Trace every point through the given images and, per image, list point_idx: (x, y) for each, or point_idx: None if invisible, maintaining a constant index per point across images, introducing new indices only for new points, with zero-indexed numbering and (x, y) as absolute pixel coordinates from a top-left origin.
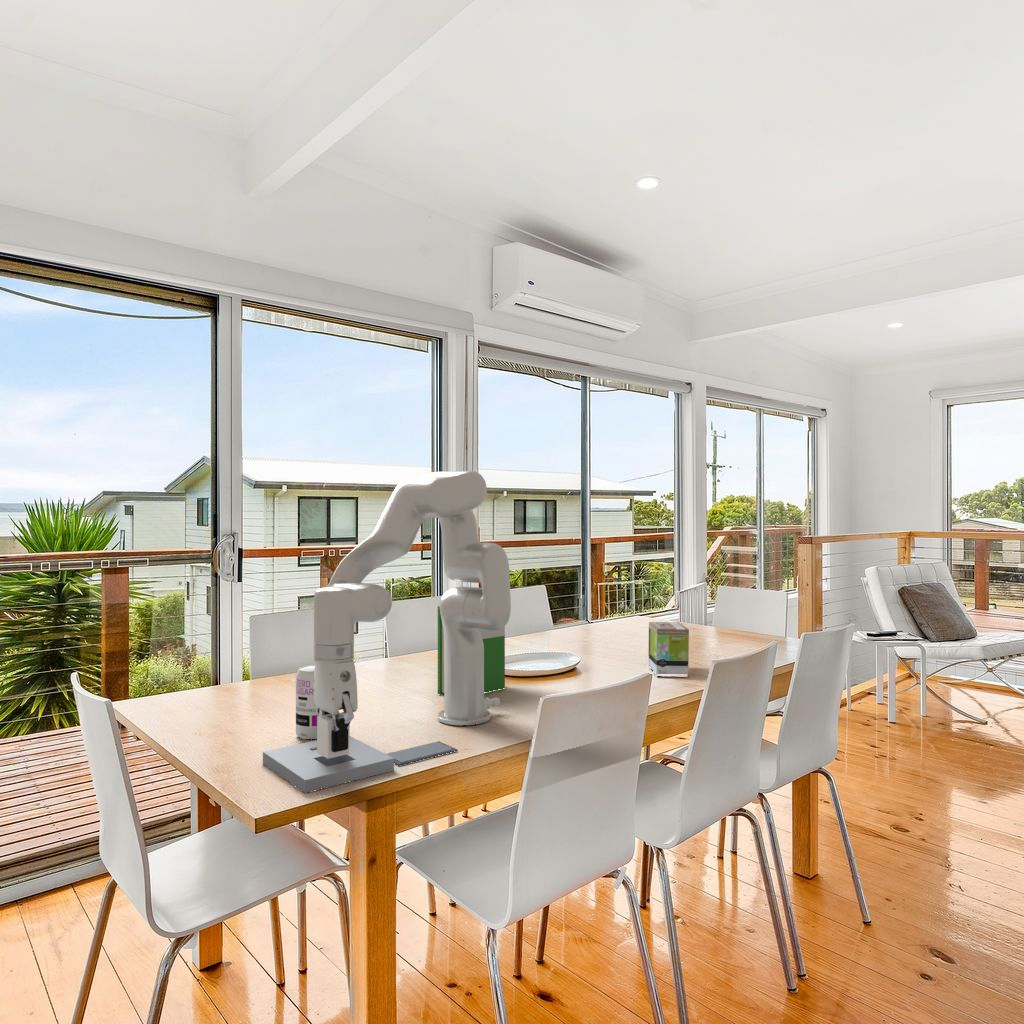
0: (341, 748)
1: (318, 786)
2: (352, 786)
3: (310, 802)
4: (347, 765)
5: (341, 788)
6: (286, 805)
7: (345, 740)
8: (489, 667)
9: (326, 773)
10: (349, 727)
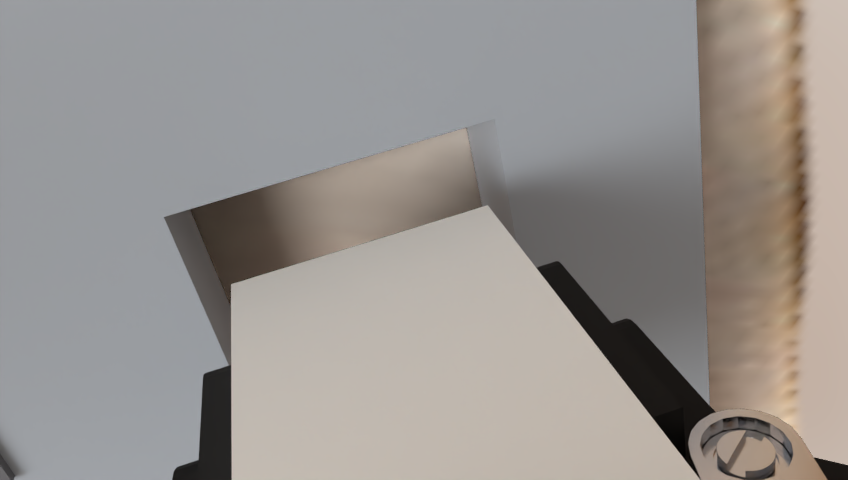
0: None
1: None
2: (727, 168)
3: (793, 415)
4: (608, 220)
5: (714, 243)
6: None
7: (654, 353)
8: None
9: None
10: (619, 380)
